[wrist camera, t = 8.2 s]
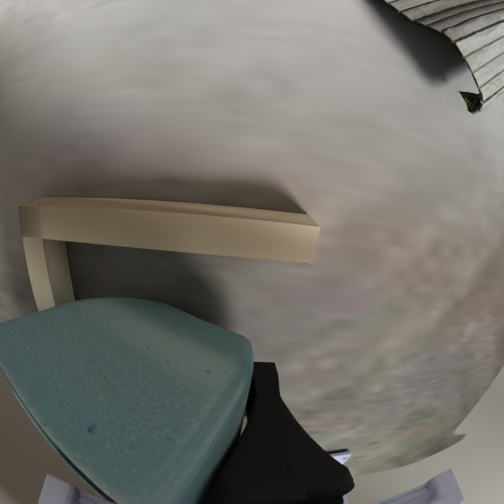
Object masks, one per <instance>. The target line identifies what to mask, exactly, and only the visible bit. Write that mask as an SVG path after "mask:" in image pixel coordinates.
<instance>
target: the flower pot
mask: <svg viewBox="0 0 504 504" xmlns="http://www.w3.org/2000/svg"><path fill="white" fill-rule="evenodd" d="M0 368H1V371H2V372H3V374H4V376H5V378H6V380H7V382H8V383H9V385H10V387H11V389H12V390H13V392H14V394H15V396H16V397H17V399H18V400H19V402H20V404H21V405H22V407H23V408H24V410H25V411H26V413H27V414H28V416H29V417H30V418H31V420H32V421H33V423H34V424H35V425H36V427H37V428H38V429H39V431H40V432H41V433H42V435H43V436H44V437H45V438H46V440H47V441H48V442H49V443H50V445H51V446H52V447H53V448H54V450H55V451H56V452H57V453H58V454H59V455H60V456H61V458H62V459H63V460H64V461H65V462H66V463H67V464H68V465H69V466H70V467H71V469H72V470H73V471H74V472H75V473H76V474H77V475H78V476H79V477H80V478H81V479H82V480H83V481H84V482H86V484H88V485H89V486H90V487H91V488H92V489H93V490H94V491H95V492H96V493H97V494H98V495H100V496H101V497H102V498H103V499H104V500H106V501H109V502H113V503H116V504H207V495H208V493H209V491H210V489H211V487H212V485H213V483H214V481H215V479H216V477H217V476H218V474H219V472H220V471H221V469H222V468H223V466H224V465H225V463H226V462H227V460H228V459H229V457H230V455H231V453H232V452H233V450H234V448H235V446H236V445H237V443H238V441H239V439H240V436H241V430H242V425H243V419H244V414H245V409H246V404H247V398H248V393H249V389H250V384H251V379H252V373H253V351H252V347H251V344H250V342H249V340H248V339H247V338H245V337H244V336H242V335H240V334H237V333H235V332H232V331H229V330H226V329H224V328H221V327H219V326H216V325H214V324H211V323H209V322H206V321H204V320H202V319H199V318H197V317H195V316H192V315H190V314H188V313H186V312H183V311H181V310H179V309H177V308H175V307H173V306H170V305H168V304H165V303H161V302H156V301H151V300H144V299H138V298H128V297H97V298H88V299H82V300H77V301H73V302H69V303H66V304H62V305H58V306H55V307H52V308H48V309H45V310H42V311H38V312H35V313H32V314H29V315H26V316H22V317H19V318H16V319H13V320H9V321H6V322H3V323H0Z"/></svg>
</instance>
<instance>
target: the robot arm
mask: <svg viewBox="0 0 504 504" xmlns="http://www.w3.org/2000/svg"><path fill="white" fill-rule="evenodd" d="M246 416H247V423H246V426H245V428H244V430H243V432H242V435H241V437H240V439H239V441H238V443H237V445H236V446H235V448H234V450H233V452H232V453H231V455H230V457H229V459H228V460H227V462H226V463H225V465H224V466H223V468H222V469H221V471H220V472H219V474H218V476H217V477H216V479H215V481H214V483H213V485H212V487H211V489H210V491H209V493H208V495H207V504H348V501H347V497H346V494H347V493H348V492H350V491H351V490H352V489H353V488H354V482H353V478H352V476H351V474H350V471H349V469H348V468H347V467H346V466H344V465H343V464H344V462H345V461H346V460H347V459H348V458H349V457H350V456H351V452H350V451H346V452H340V453H334V454H328V453H327V452H326V451H325V450H324V449H322V448H321V447H320V446H319V445H318V444H317V443H316V442H315V441H314V440H313V439H312V438H311V437H310V436H309V435H308V434H307V433H306V431H305V430H304V429H303V428H302V427H301V426H300V424H299V423H298V422H297V421H296V419H295V418H294V417H293V415H292V414H291V412H290V411H289V409H288V408H287V406H286V405H285V403H284V402H283V400H282V398H281V396H280V391H279V380H278V373H277V369H276V366H275V363H271V362H253V373H252V379H251V384H250V389H249V393H248V398H247V404H246ZM463 501H464V498H463V495H462V493H461V490H460V488H459V486H458V483H457V481H456V479H455V477H454V474H453V472H452V470H451V469H449V470H447V471H445V472H443V473H441V474H439V475H437V476H435V477H433V478H432V479H430V480H429V481H427V482H426V483H425V484H423V485H421V486H418V487H416V488H414V489H411V490H409V491H406V492H404V493H401V494H398V495H396V496H393V497H390V498H387V499H384V500H381V501H378V502H375V503H371V504H460V503H462V502H463ZM38 504H116V503H113V502H109V501H106V500H103V499H100V498H97V497H94V496H92V495H89V494H86V493H84V492H81V491H79V490H78V489H77V488H76V487H74V486H73V485H71V484H69V483H67V482H65V481H62V480H60V479H58V478H56V477H54V476H52V475H50V474H48V475H47V476H46V479H45V482H44V486H43V489H42V492H41V496H40V499H39V502H38Z"/></svg>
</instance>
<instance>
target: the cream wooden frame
mask: <svg viewBox="0 0 504 504" xmlns="http://www.w3.org/2000/svg"><path fill="white" fill-rule="evenodd" d="M19 212H20V222H21V231H22V238H23V245H24V251H25V257H26V262H27V267H28V272H29V277H30V281H31V286H32V290H33V294H34V297H35V301H36V305H37V308H38V311H42V310H45V309H48V308H52V307H55V306H58V305H62V304H66V303H69V302H73V301H75V297H74V292H73V287H72V282H71V276H70V270H69V264H68V257H67V249H66V241H72V242H82V243H92V244H102V245H113V246H123V247H133V248H144V249H155V250H165V251H176V252H187V253H198V254H209V255H220V256H232V257H243V258H254V259H266V260H277V261H289V262H301V263H314V258H315V254H316V249H317V244H318V238H319V233H320V228H321V227H320V226H319V225H318V224H317V223H316V222H315V221H314V220H313V219H312V218H311V217H310V216H309V215H308V214H300V213H291V212H283V211H274V210H265V209H255V208H245V207H235V206H224V205H212V204H200V203H186V202H172V201H156V200H137V199H115V198H82V197H41V198H38V199H36V200H33V201H30V202H28V203H25V204H23V205H20V206H19ZM246 423H247V416H244V419H243V425H242V430H241V435H242V432H243V430H244V428H245V426H246ZM240 437H241V436H240Z"/></svg>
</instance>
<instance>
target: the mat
mask: <svg viewBox="0 0 504 504" xmlns="http://www.w3.org/2000/svg"><path fill="white" fill-rule="evenodd" d="M380 1H381V2H382V3H384V4H385V5H387V6H388V7H390V8H391V9H392V10H394V11H395V12H396V13H398V14H399V15H400V16H402V17H403V18H404V19H406V20H408V21H411V22H413V23H415V24H418V25H420V26H422V27H424V28H426V29H428V30H430V31H432V32H434V33H436V34H438V35H440V36H442V37H444V38H446V39H447V40H448V41H449V42H450V43H451V45H452V46H453V47H454V48H455V49H456V50H457V52H458V53H459V54H460V55H461V56H462V58H463V59H464V60H465V61H466V63H467V65H468V67H469V69H470V71H471V74H472V76H473V78H474V80H475V83H476V85H477V88H478V90H479V94H475V93H470V92H460V94H461V95H462V97H463V99H464V100H465V102H466V104H467V108H468V111H469V112H471V113H472V114H475V113H478V112H481V111H482V110H483V109H484V108H486V107H487V106H488V105H489V104H490V103H492V102H493V101H494V100H495V99H496V98H497V97H498V96H500V95H501V94H502V93H503V92H504V0H380ZM457 92H459V91H457Z"/></svg>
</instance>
